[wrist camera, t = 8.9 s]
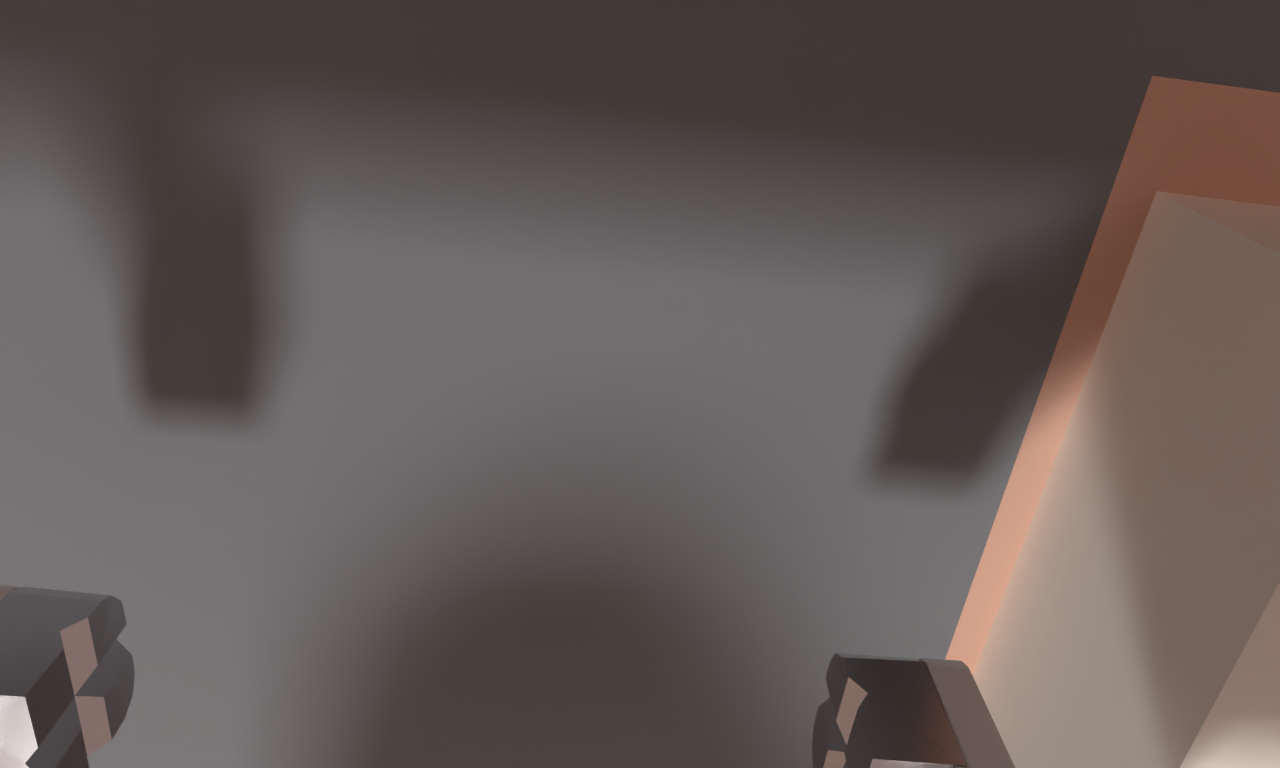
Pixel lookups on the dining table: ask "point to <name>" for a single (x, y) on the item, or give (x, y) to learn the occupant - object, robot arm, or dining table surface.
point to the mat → (566, 346)
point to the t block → (1159, 521)
